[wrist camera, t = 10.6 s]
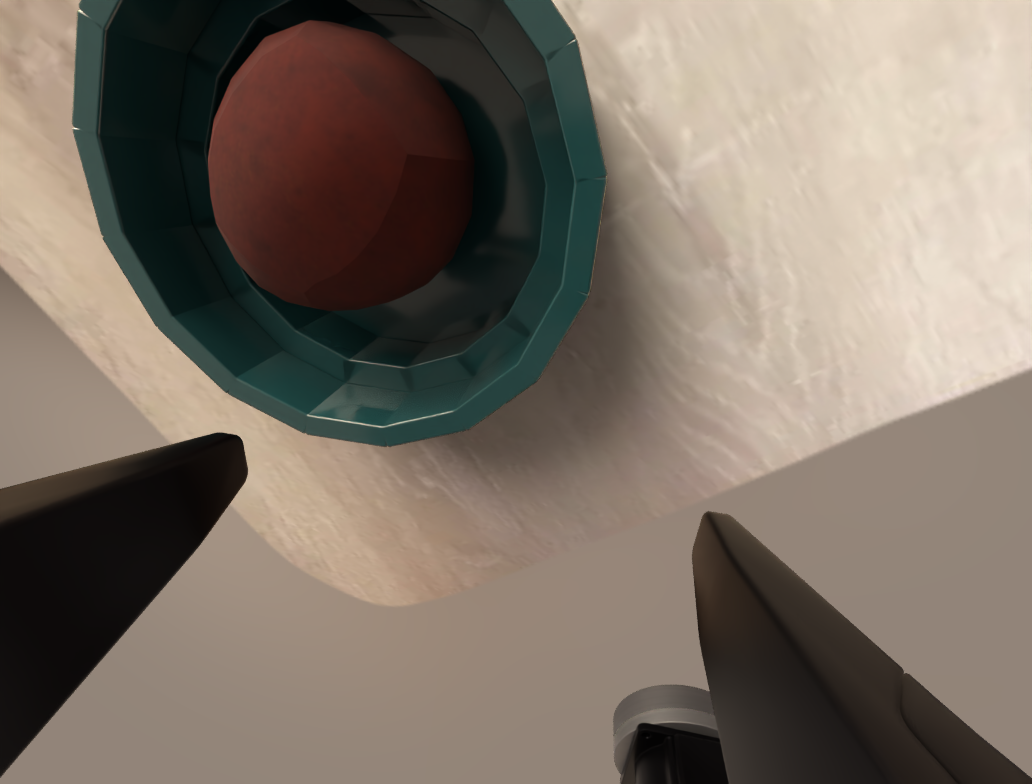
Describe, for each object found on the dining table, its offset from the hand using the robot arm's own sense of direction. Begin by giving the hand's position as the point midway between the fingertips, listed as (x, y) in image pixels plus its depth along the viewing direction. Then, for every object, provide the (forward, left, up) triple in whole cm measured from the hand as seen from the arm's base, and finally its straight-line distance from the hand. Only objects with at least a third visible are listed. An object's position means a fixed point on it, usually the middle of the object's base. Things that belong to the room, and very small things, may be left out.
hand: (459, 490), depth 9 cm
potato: (+4, +6, -11) cm, 13 cm away
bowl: (+4, +5, -12) cm, 13 cm away
